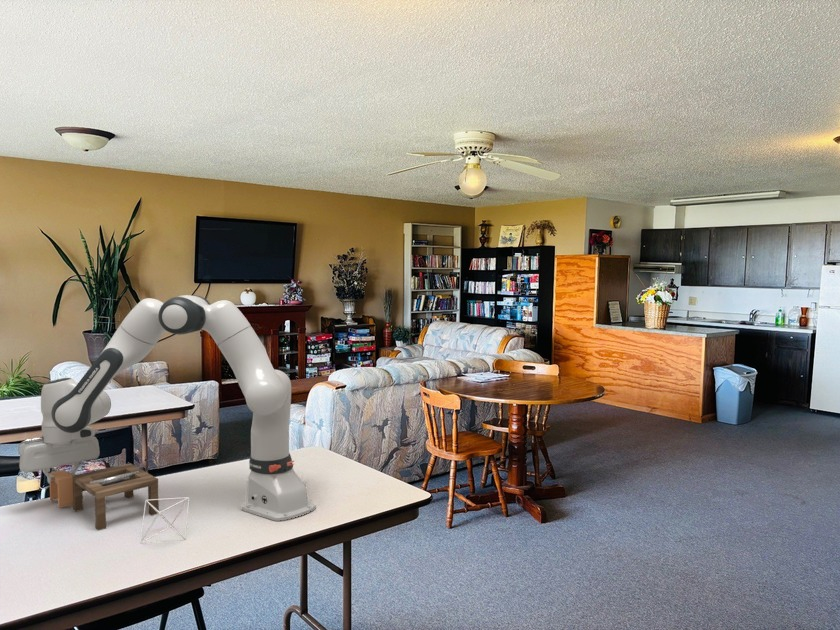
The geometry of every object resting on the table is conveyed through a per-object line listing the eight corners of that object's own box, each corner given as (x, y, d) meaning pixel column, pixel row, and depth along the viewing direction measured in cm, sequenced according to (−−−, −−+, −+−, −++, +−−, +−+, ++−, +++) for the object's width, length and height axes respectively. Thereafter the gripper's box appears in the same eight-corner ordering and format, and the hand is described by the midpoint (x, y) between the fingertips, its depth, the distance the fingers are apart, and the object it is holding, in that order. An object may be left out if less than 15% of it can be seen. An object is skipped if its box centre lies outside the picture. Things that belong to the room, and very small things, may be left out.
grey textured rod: (139, 476, 174) (139, 471, 174) (91, 488, 165) (91, 482, 165) (137, 475, 176) (137, 470, 175) (89, 486, 166) (89, 481, 166)
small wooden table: (158, 513, 170) (158, 478, 169) (98, 530, 158) (97, 493, 158) (131, 495, 183) (130, 463, 183) (73, 509, 172) (72, 475, 171)
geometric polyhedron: (199, 531, 158) (199, 498, 158) (170, 549, 148) (169, 513, 147) (161, 525, 162) (161, 492, 162) (130, 541, 152) (129, 506, 151)
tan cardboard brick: (74, 503, 174) (73, 476, 174) (59, 507, 171) (58, 480, 171) (65, 495, 180) (64, 469, 180) (50, 499, 178) (49, 472, 177)
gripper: (21, 442, 165) (23, 491, 166) (100, 429, 180) (102, 474, 181) (15, 438, 169) (17, 486, 170) (93, 425, 184) (94, 469, 185)
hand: (61, 480), depth 175 cm, fingers closed on tan cardboard brick, 4 cm apart
